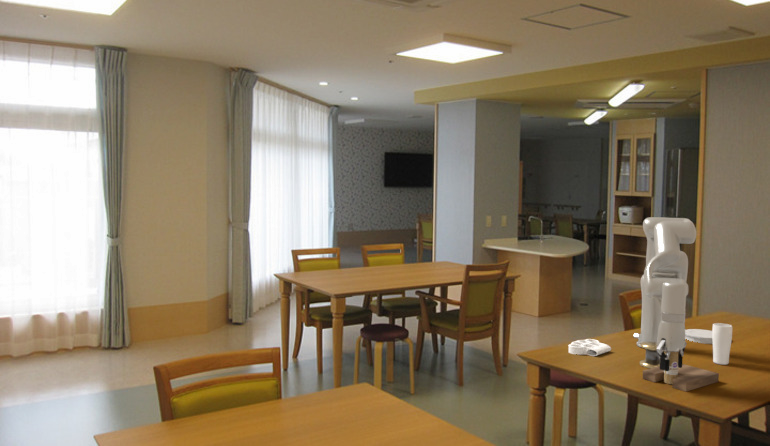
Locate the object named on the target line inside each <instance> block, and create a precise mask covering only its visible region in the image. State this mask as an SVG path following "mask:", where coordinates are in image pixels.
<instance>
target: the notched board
mask: <svg viewBox="0 0 770 446" xmlns="http://www.w3.org/2000/svg"><path fill="white" fill-rule="evenodd" d="M719 375H720V373H718V372H715V371H711V370H707V369H703V368H701V367H700V368H699V367H696V366H692V365H688V364H684V363H682V368H679V367H678V376H677V378H674V379H673V384H672V388H673V389H676V390H679V391H683V392H689V391H692V390H695V389H699V388H702V387H705V386H709V385H712V384H715V383H719V381H720V380H719V379H720V378H719V377H720V376H719ZM642 379H643V380H645V381H648V382H652V383H658V382H661V381H663V380H664V370H661V369H660V366H658V367H654V368H647V369H643V370H642Z"/></svg>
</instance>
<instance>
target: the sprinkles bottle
mask: <svg viewBox="0 0 770 446" xmlns="http://www.w3.org/2000/svg"><path fill="white" fill-rule="evenodd" d="M665 350H667V349H666V348H665ZM678 352H679V348H677V350H676V351H673V352H670V355H669V358H668V359H669V360H670V363H669V371H664V380H662V381H663V383H665V384H667V385H673V379H674V378H677V376H678ZM664 353H665V355H666V353H667V352H664Z"/></svg>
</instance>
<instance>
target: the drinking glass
mask: <svg viewBox="0 0 770 446" xmlns="http://www.w3.org/2000/svg"><path fill="white" fill-rule="evenodd" d="M711 331H712V342H713V344H712V362H713V363H714V364H717V365H720V366H721V365H724V366H726V365H728V364H729V363H730V353H731V347H732V346H731V345H732V339H733V325H732V324H728V323H722V322H715V323H712V329H711Z"/></svg>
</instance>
